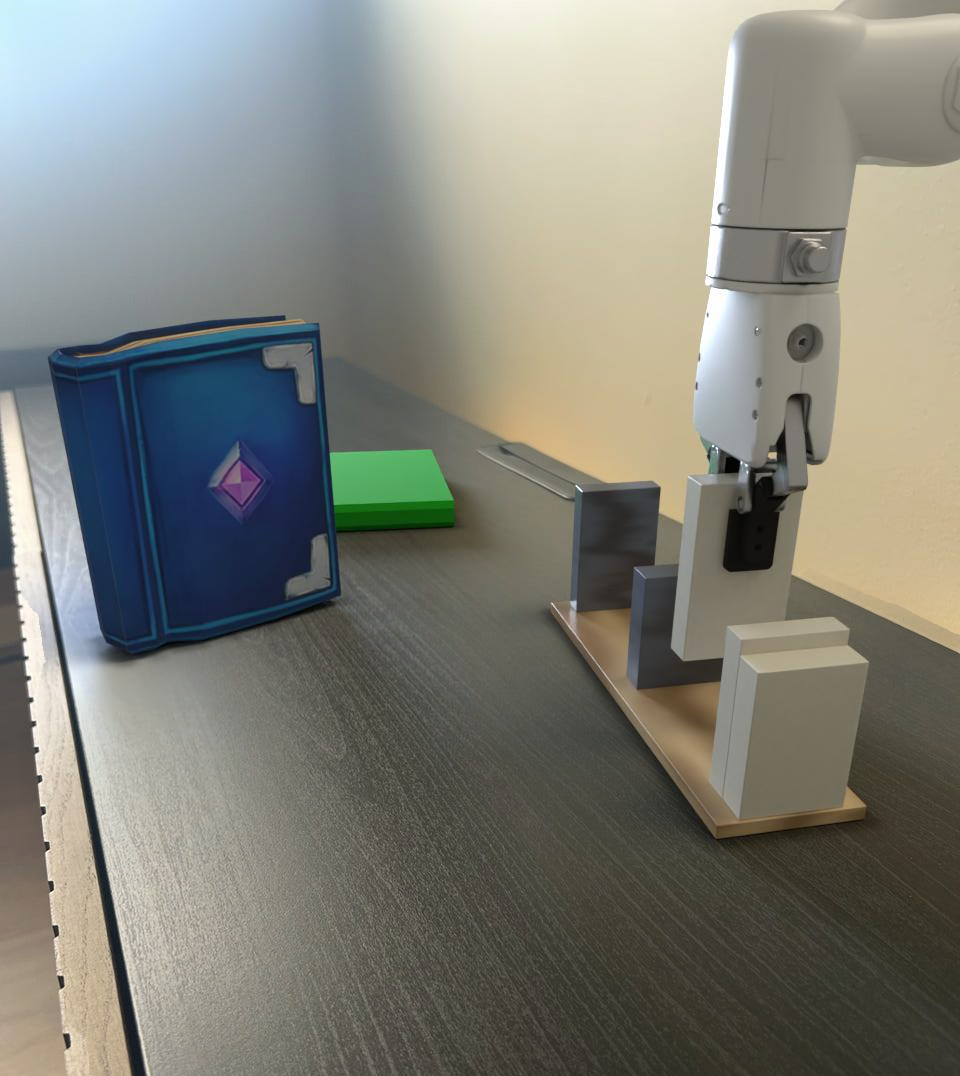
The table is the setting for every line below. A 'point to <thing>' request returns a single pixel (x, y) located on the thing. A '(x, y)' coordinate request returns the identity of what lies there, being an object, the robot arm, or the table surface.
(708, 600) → the white book
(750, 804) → the white books
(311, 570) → the book
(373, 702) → the table surface
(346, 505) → the green flat slab
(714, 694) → the book rack
